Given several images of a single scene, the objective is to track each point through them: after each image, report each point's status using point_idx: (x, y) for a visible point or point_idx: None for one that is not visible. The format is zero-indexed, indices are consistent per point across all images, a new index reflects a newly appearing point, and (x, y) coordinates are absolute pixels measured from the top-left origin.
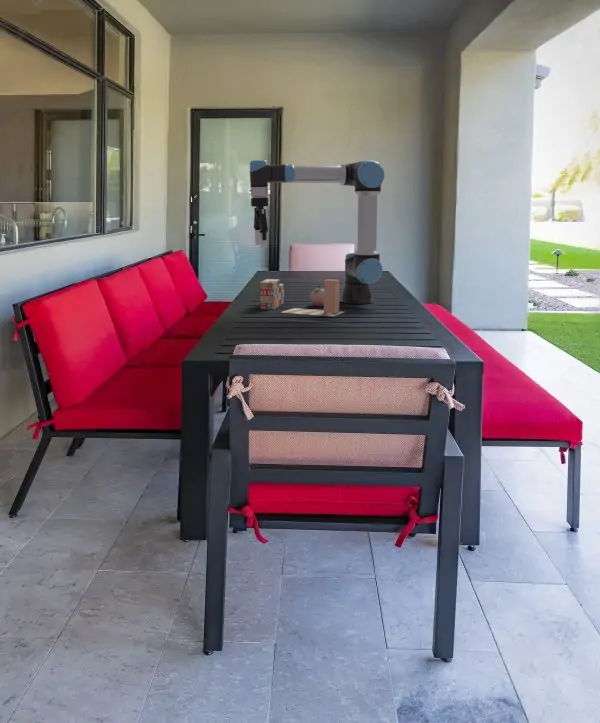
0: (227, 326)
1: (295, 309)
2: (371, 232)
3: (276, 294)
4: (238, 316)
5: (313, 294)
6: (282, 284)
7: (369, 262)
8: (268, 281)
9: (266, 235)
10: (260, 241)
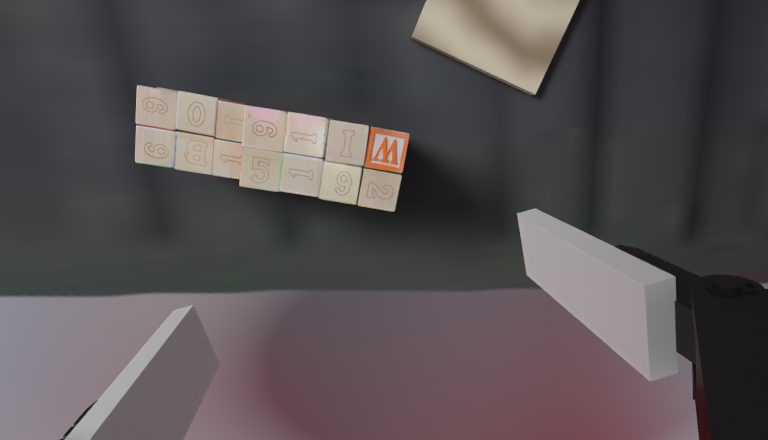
0: (758, 258)
1: (454, 29)
2: None
3: (341, 121)
4: None
5: None
6: (175, 92)
7: None
8: (356, 167)
9: (635, 265)
10: (182, 337)
